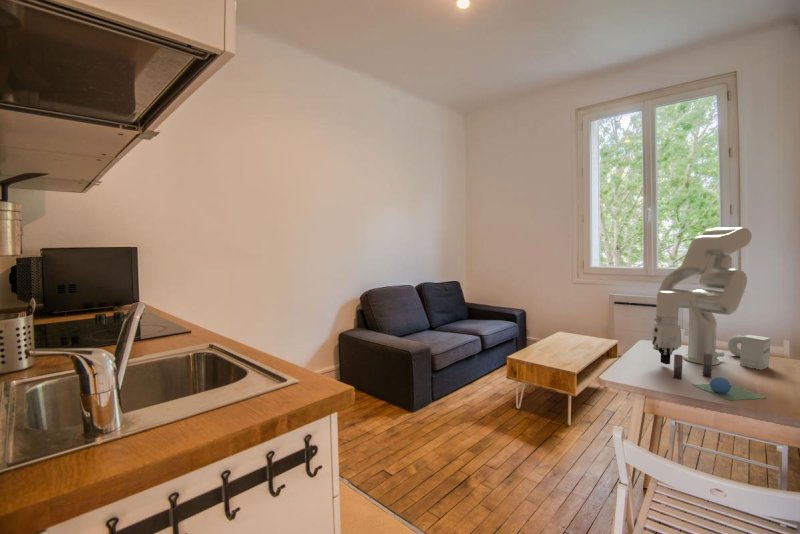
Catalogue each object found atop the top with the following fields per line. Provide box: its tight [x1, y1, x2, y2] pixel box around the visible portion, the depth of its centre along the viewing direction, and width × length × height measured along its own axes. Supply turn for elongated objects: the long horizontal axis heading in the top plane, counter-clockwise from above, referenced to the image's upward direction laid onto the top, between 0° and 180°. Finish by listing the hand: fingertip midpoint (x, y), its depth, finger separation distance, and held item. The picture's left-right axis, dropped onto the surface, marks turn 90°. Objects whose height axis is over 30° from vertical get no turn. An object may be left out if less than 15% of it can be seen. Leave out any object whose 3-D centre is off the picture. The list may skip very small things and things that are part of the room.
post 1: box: [673, 354, 684, 381], centre depth 147 cm, size 3×3×9 cm
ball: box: [709, 376, 732, 394], centre depth 132 cm, size 6×6×6 cm
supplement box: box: [739, 334, 772, 371], centre depth 160 cm, size 7×7×13 cm
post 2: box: [702, 353, 713, 379], centre depth 148 cm, size 3×3×9 cm
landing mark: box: [692, 383, 767, 402], centre depth 134 cm, size 14×14×1 cm
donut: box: [727, 335, 743, 358], centre depth 173 cm, size 10×4×10 cm, turn 18°
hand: (665, 363), depth 160 cm, fingers closed
